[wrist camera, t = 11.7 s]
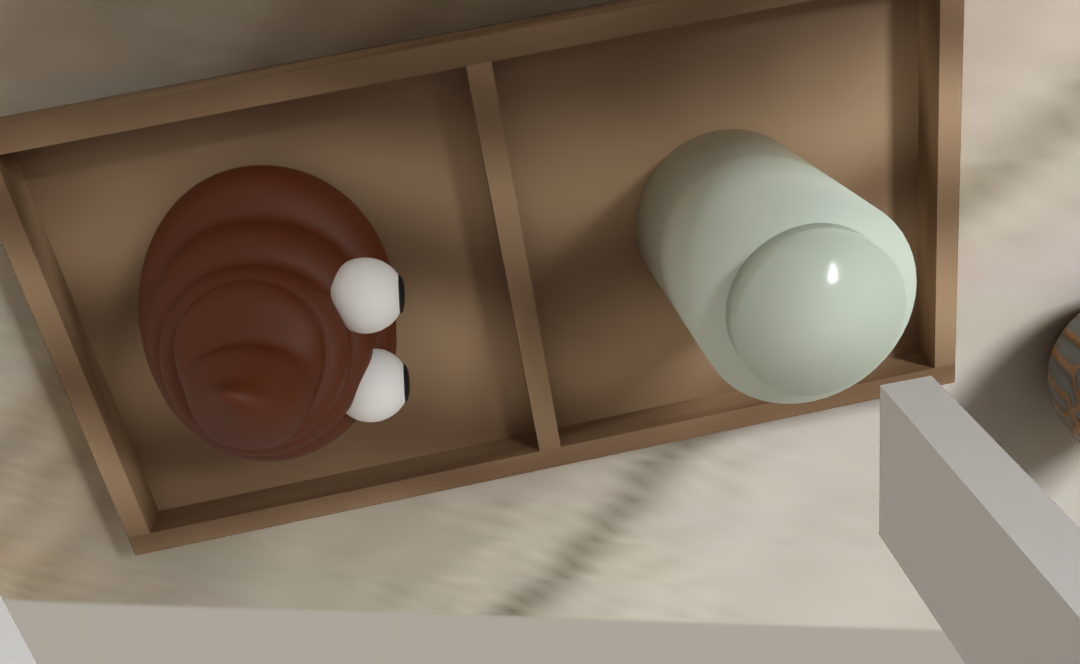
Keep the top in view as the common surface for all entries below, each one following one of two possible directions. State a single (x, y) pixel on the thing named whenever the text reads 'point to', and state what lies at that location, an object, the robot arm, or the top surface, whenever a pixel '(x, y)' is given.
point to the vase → (1066, 376)
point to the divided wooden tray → (484, 233)
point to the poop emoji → (271, 314)
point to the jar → (774, 266)
